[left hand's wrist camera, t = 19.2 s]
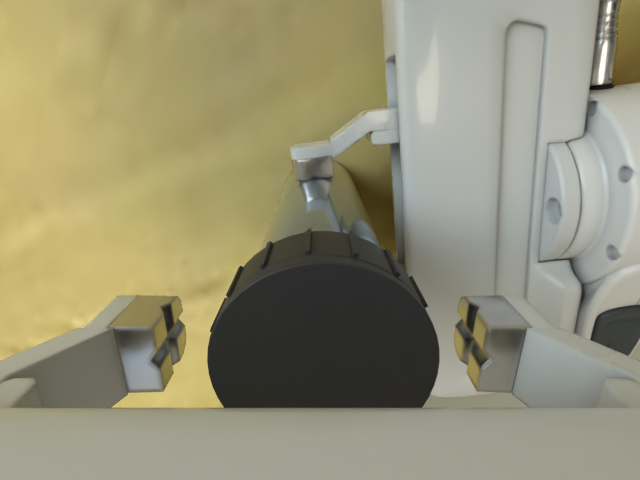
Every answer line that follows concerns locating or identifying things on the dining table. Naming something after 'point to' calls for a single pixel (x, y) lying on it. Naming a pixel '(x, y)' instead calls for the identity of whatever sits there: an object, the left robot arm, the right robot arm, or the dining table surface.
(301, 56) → the dining table surface
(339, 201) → the jar
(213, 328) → the lid
